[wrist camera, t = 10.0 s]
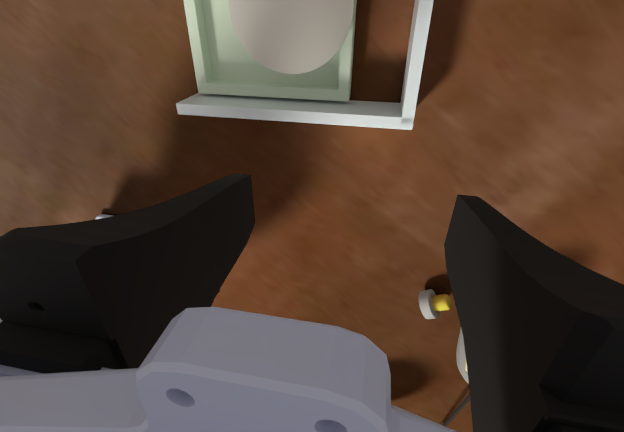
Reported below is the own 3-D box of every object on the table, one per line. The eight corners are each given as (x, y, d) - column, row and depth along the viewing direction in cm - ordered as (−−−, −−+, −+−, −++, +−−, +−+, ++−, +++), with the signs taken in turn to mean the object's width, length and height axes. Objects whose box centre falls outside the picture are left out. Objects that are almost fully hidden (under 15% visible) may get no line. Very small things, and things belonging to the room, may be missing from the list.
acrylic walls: (202, 101, 22) (177, 114, 20) (173, -79, 17) (137, -93, 15) (409, 113, 20) (412, 129, 18) (441, -87, 15) (451, -104, 13)
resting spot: (207, 88, 22) (198, 93, 21) (179, -104, 17) (165, -110, 16) (350, 96, 20) (348, 101, 19) (364, -111, 15) (362, -119, 14)
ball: (225, 70, 18) (258, 90, 14) (206, -64, 15) (240, -92, 11) (319, 61, 20) (373, 76, 16) (318, -59, 17) (384, -81, 13)
